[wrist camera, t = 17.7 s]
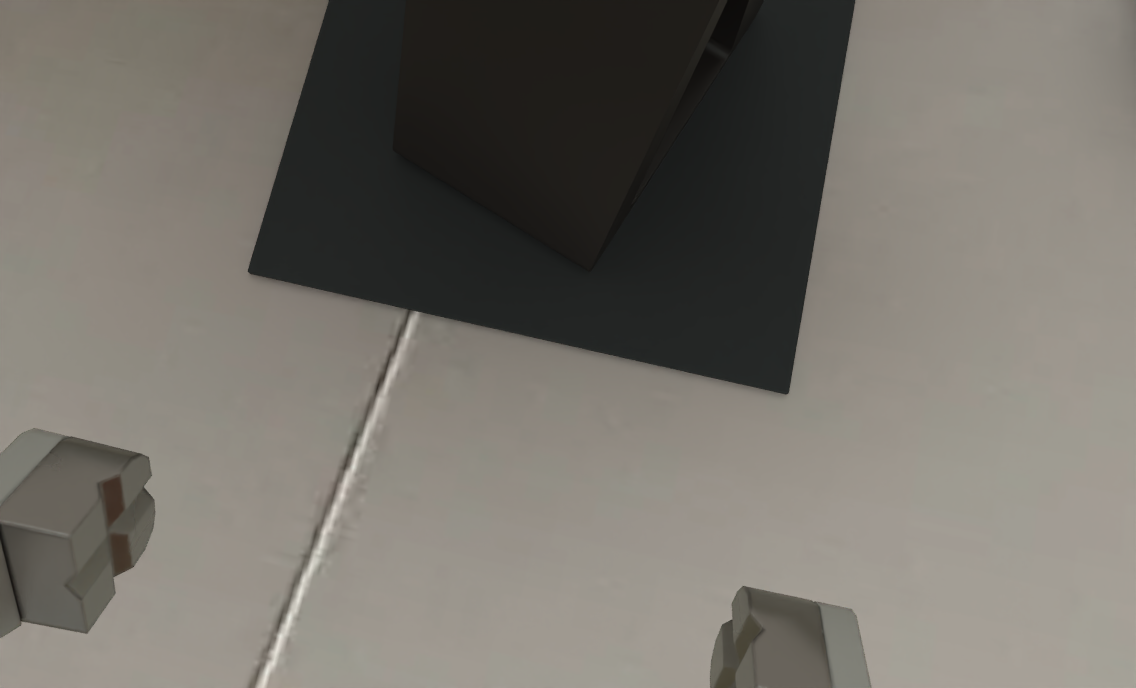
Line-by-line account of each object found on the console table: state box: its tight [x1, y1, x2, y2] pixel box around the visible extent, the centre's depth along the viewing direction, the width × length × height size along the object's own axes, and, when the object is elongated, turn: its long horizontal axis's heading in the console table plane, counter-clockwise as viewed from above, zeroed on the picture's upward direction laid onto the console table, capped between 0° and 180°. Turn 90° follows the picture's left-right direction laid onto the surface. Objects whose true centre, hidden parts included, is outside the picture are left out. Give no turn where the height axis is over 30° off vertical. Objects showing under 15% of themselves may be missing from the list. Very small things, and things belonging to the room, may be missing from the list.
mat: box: [248, 0, 855, 394], centre depth 24 cm, size 14×14×1 cm
